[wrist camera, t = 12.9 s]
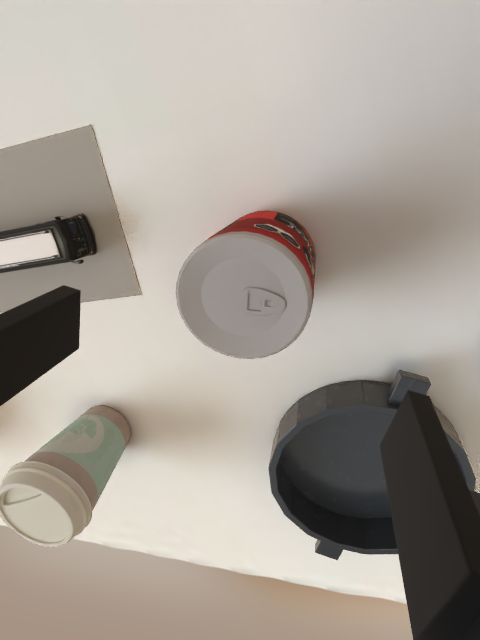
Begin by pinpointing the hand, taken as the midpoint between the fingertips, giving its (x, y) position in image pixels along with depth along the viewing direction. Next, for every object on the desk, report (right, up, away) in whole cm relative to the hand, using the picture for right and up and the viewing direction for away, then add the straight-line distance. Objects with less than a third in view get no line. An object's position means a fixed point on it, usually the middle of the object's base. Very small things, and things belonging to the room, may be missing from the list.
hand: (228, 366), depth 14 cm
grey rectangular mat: (-22, +10, +21) cm, 32 cm away
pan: (+13, -12, +22) cm, 28 cm away
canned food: (+3, +7, +17) cm, 18 cm away
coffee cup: (-15, -10, +28) cm, 33 cm away
